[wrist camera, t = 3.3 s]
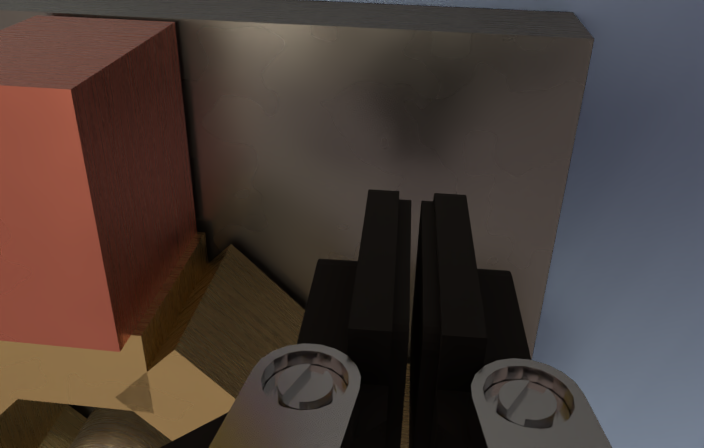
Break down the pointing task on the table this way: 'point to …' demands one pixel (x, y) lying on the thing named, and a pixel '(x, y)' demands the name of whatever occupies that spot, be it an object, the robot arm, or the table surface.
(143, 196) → the wooden block ring
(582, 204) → the table surface
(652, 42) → the table surface
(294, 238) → the spindle plate
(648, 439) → the table surface
